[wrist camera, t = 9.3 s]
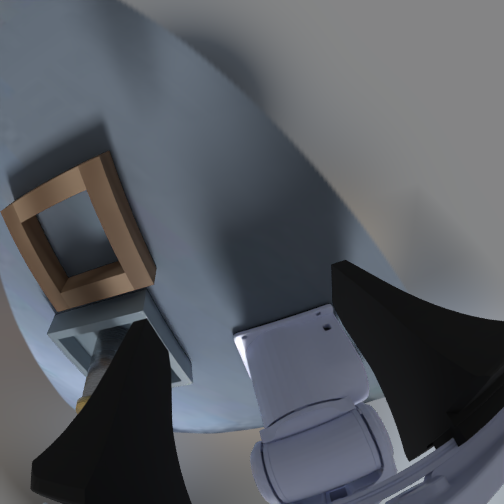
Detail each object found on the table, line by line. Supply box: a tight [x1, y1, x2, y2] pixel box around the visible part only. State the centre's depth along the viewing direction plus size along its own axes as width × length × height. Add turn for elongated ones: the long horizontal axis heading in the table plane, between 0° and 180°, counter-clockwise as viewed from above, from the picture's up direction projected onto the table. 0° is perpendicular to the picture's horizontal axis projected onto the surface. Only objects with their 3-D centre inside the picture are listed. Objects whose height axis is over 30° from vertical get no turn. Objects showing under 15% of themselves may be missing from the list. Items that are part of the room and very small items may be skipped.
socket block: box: [1, 151, 157, 312], centre depth 15 cm, size 9×9×2 cm
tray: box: [47, 289, 193, 388], centre depth 21 cm, size 10×10×2 cm
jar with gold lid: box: [76, 326, 129, 414], centre depth 17 cm, size 5×5×8 cm
